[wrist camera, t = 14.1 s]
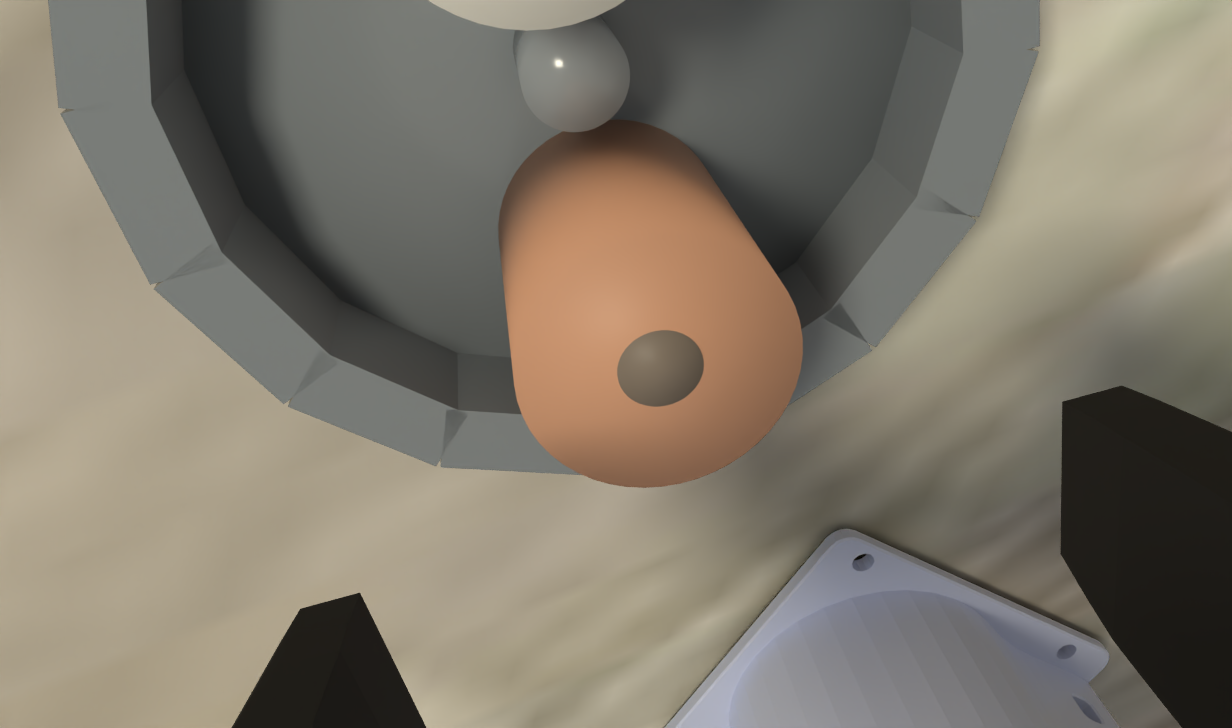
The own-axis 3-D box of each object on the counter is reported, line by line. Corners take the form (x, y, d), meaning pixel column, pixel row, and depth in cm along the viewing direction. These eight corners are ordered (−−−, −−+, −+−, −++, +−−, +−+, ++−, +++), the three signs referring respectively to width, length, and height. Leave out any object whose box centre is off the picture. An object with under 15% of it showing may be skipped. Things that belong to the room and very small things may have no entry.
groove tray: (1120, -114, 17) (1230, -98, 15) (670, 485, 22) (696, 571, 20) (349, -798, 12) (324, -946, 9) (-12, 188, 17) (-88, 255, 14)
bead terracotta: (763, 196, 18) (861, 325, 14) (634, 362, 19) (686, 526, 15) (581, 73, 17) (627, 174, 12) (455, 262, 18) (457, 414, 14)
